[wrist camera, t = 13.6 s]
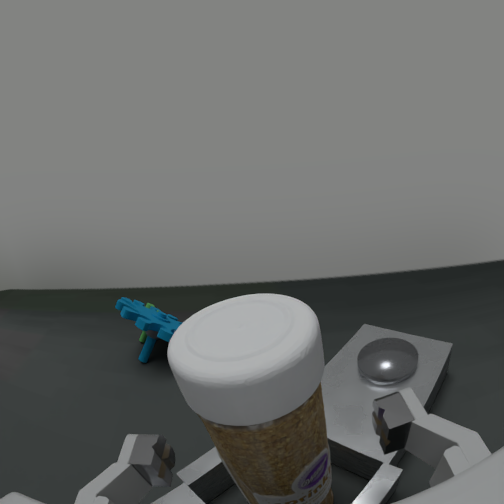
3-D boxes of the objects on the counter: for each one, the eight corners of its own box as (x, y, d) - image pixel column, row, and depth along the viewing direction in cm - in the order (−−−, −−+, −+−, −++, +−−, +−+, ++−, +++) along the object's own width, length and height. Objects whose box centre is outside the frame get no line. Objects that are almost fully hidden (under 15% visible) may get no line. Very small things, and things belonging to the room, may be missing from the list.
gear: (217, 345, 28) (119, 304, 24) (193, 395, 27) (98, 361, 24) (191, 316, 38) (120, 284, 34) (173, 355, 38) (103, 326, 34)
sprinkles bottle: (314, 544, 10) (271, 398, 5) (242, 519, 12) (132, 354, 8) (345, 483, 13) (338, 290, 9) (278, 466, 16) (220, 284, 12)
